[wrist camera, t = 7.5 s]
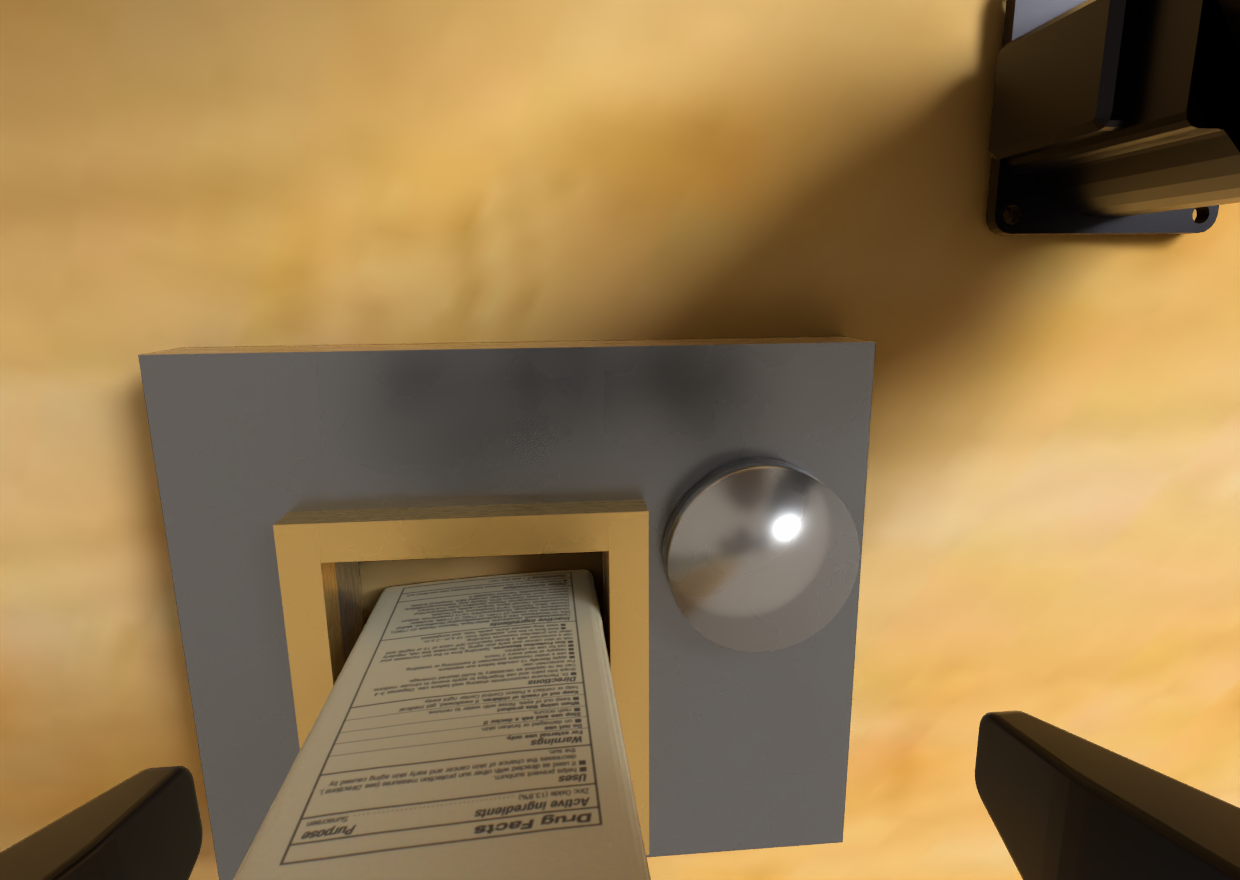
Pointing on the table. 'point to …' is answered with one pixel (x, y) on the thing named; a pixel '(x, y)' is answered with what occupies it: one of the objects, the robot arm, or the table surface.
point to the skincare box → (464, 745)
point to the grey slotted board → (534, 546)
